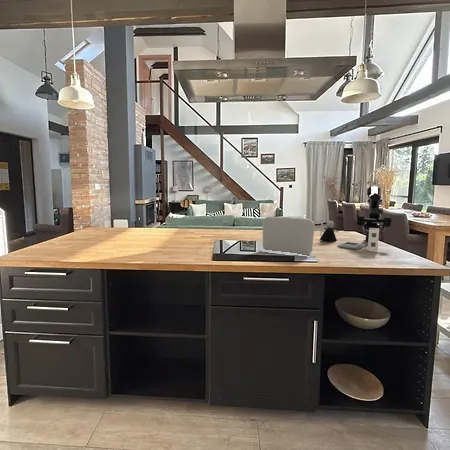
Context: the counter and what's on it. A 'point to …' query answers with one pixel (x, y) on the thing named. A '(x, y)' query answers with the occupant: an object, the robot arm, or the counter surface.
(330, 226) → the toy
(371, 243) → the cream rectangular prism
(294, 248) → the wireless router
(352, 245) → the bracket plate
